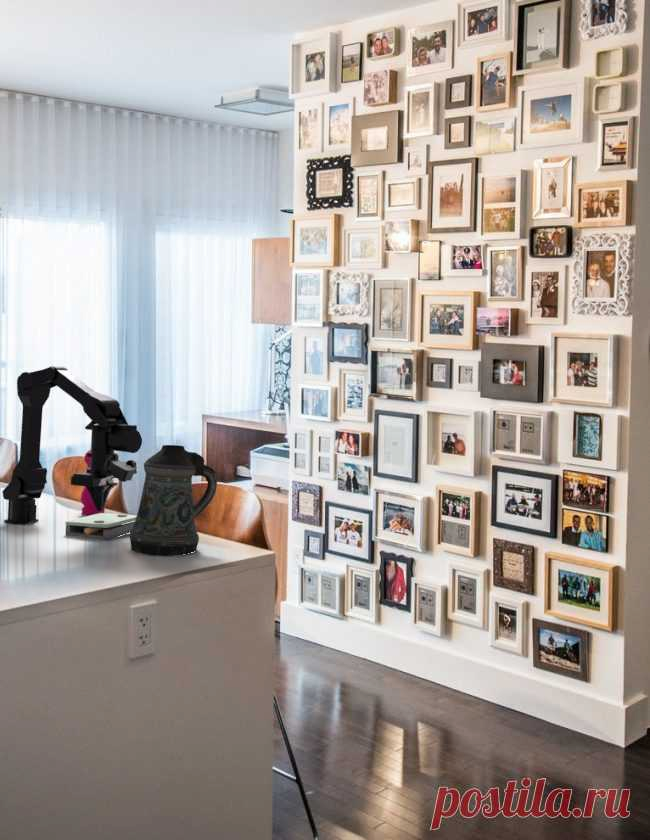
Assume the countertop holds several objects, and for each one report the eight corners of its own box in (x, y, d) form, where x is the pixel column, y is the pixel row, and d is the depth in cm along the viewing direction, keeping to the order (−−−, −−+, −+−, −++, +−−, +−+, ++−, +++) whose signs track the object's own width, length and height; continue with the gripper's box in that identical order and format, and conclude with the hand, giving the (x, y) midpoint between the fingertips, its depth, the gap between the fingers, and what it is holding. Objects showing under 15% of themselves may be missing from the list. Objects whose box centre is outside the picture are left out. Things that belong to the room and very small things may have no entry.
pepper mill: (109, 513, 289) (112, 443, 288) (101, 517, 282) (104, 445, 280) (84, 511, 290) (87, 441, 288) (76, 515, 282) (79, 444, 281)
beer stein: (114, 547, 242) (119, 443, 240) (176, 539, 257) (180, 440, 255) (160, 559, 232) (165, 450, 230) (221, 550, 246) (226, 447, 245)
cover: (65, 524, 253) (65, 520, 253) (100, 515, 269) (100, 511, 269) (107, 527, 249) (107, 523, 249) (140, 518, 265) (140, 514, 265)
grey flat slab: (65, 534, 254) (65, 524, 254) (100, 525, 269) (100, 516, 269) (107, 540, 250) (107, 530, 250) (139, 530, 265) (140, 521, 265)
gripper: (111, 454, 241) (108, 519, 242) (149, 449, 258) (146, 509, 259) (70, 450, 244) (68, 514, 245) (111, 445, 262) (109, 505, 263)
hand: (99, 511), depth 253 cm, fingers closed
